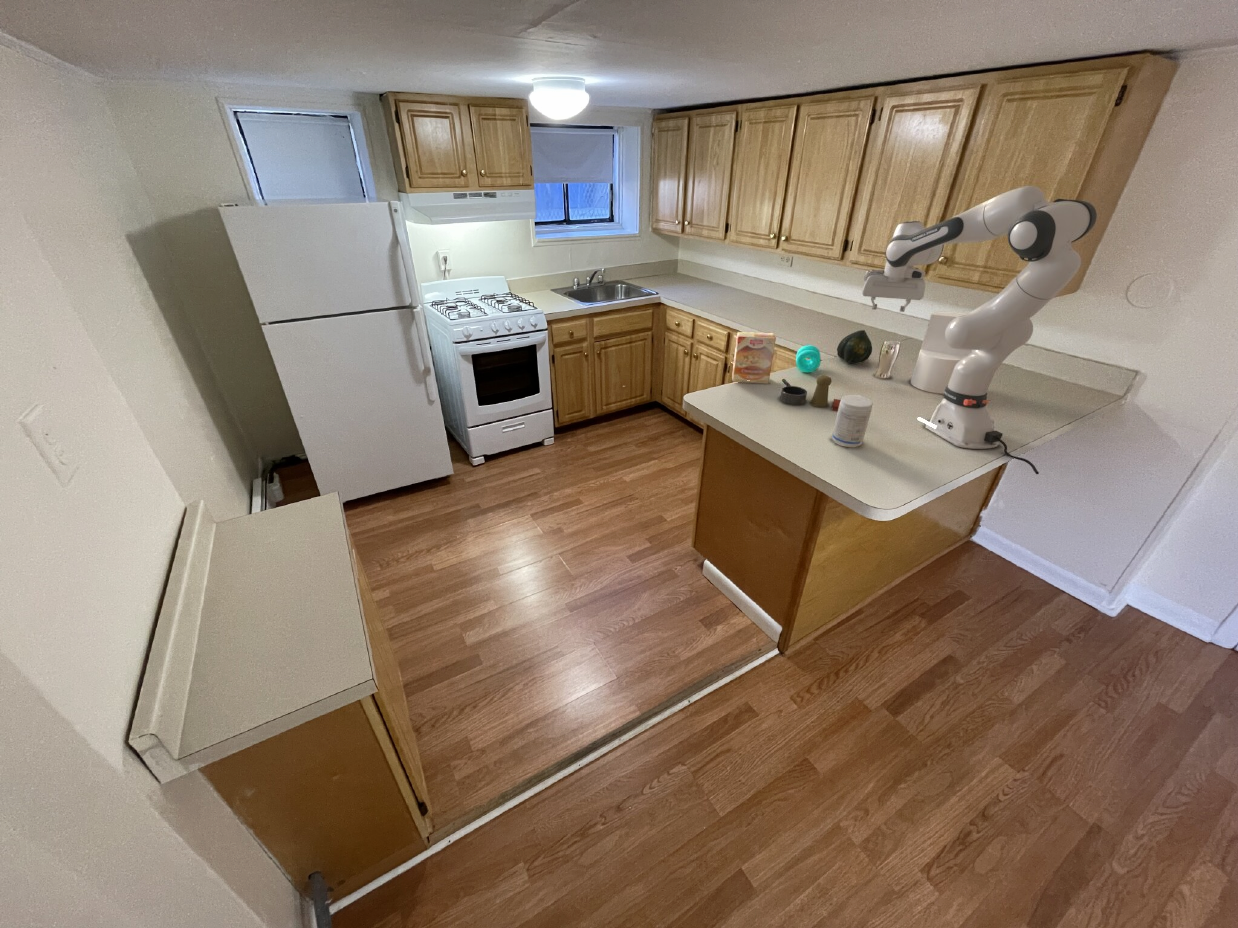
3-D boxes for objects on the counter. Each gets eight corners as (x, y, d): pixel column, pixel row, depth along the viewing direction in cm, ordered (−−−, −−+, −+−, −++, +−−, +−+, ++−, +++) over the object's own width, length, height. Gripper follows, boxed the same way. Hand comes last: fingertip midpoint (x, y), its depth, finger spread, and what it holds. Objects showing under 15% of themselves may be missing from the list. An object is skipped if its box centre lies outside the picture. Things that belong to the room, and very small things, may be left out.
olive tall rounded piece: (816, 407, 191) (822, 380, 185) (807, 401, 196) (813, 374, 190) (830, 406, 192) (837, 378, 186) (821, 399, 197) (827, 372, 191)
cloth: (833, 402, 195) (834, 398, 194) (852, 405, 193) (853, 401, 192) (832, 410, 189) (833, 406, 188) (852, 413, 186) (853, 409, 186)
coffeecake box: (732, 382, 213) (738, 336, 203) (731, 376, 219) (736, 331, 209) (769, 384, 211) (776, 337, 201) (767, 377, 217) (774, 332, 207)
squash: (831, 352, 229) (861, 329, 221) (830, 344, 241) (859, 322, 233) (852, 375, 230) (882, 353, 222) (850, 365, 243) (878, 344, 235)
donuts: (794, 372, 223) (798, 350, 218) (794, 364, 231) (798, 343, 226) (818, 374, 220) (822, 352, 215) (817, 367, 228) (822, 345, 223)
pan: (808, 405, 193) (810, 395, 191) (784, 405, 192) (786, 395, 190) (800, 395, 201) (802, 385, 199) (776, 395, 200) (778, 386, 198)
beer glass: (893, 380, 215) (903, 345, 207) (875, 378, 216) (885, 344, 208) (889, 374, 221) (899, 340, 213) (872, 373, 222) (881, 339, 214)
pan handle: (791, 389, 199) (791, 385, 199) (787, 389, 199) (788, 385, 199) (784, 381, 206) (785, 378, 205) (781, 381, 206) (781, 378, 205)
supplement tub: (838, 432, 173) (848, 392, 166) (866, 441, 168) (878, 399, 160) (826, 441, 167) (836, 400, 160) (855, 451, 162) (866, 409, 154)
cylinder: (912, 375, 220) (932, 309, 205) (958, 382, 212) (982, 315, 198) (908, 388, 207) (930, 319, 192) (957, 397, 199) (983, 325, 185)
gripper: (866, 270, 183) (857, 309, 189) (930, 274, 176) (918, 314, 183) (866, 268, 188) (857, 306, 195) (928, 271, 181) (917, 310, 188)
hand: (887, 310), depth 189 cm, fingers open, 8 cm apart
